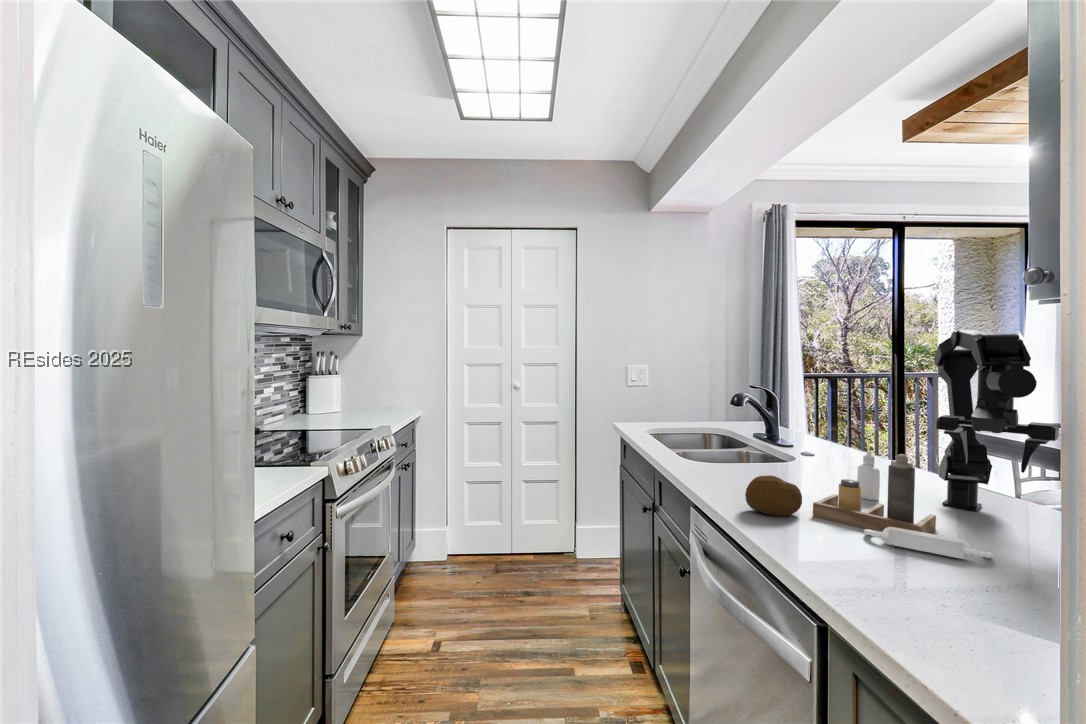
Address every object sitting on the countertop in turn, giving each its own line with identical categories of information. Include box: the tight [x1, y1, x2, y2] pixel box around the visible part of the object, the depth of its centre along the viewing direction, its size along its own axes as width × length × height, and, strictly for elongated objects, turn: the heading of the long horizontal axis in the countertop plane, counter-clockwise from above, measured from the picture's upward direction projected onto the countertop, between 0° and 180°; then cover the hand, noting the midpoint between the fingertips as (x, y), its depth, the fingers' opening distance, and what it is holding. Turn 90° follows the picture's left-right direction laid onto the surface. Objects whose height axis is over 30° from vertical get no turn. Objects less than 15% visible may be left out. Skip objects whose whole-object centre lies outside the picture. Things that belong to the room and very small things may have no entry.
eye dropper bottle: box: [856, 450, 881, 501], centre depth 132 cm, size 4×6×12 cm
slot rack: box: [812, 493, 937, 534], centre depth 113 cm, size 11×20×3 cm, turn 40°
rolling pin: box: [863, 527, 995, 560], centre depth 99 cm, size 20×8×4 cm, turn 52°
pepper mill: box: [886, 453, 916, 524], centre depth 109 cm, size 5×5×16 cm
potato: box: [744, 474, 803, 517], centre depth 118 cm, size 8×12×9 cm
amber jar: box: [838, 478, 862, 512], centre depth 117 cm, size 4×4×8 cm
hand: (993, 468), depth 108 cm, fingers open, 9 cm apart
